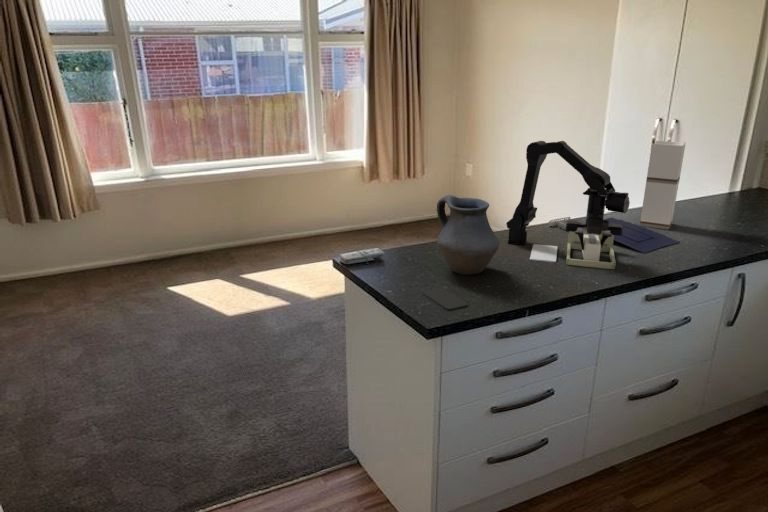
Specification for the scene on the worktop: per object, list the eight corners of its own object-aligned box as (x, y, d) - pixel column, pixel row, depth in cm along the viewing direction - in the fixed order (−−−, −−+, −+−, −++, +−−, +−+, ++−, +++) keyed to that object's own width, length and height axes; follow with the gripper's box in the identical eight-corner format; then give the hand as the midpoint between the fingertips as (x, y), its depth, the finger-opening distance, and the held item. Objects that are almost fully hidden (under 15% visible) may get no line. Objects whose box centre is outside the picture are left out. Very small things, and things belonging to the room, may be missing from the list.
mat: (529, 260, 205) (529, 258, 204) (533, 245, 221) (533, 244, 221) (555, 262, 202) (555, 261, 202) (557, 247, 218) (557, 246, 218)
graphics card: (547, 219, 245) (569, 216, 249) (546, 228, 246) (568, 224, 251) (574, 230, 230) (597, 226, 235) (573, 239, 232) (596, 234, 236)
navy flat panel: (613, 222, 247) (615, 214, 246) (678, 248, 225) (681, 239, 223) (576, 231, 234) (578, 223, 232) (642, 259, 212) (644, 250, 210)
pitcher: (482, 285, 182) (486, 209, 173) (421, 272, 192) (423, 200, 184) (505, 266, 198) (510, 196, 190) (448, 256, 209) (451, 188, 201)
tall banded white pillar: (672, 223, 249) (685, 142, 238) (668, 229, 241) (682, 145, 230) (643, 220, 255) (655, 140, 244) (639, 225, 247) (651, 143, 235)
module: (583, 260, 202) (586, 242, 199) (581, 249, 213) (583, 232, 210) (598, 261, 200) (601, 243, 198) (596, 251, 211) (598, 233, 209)
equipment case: (566, 264, 200) (568, 242, 197) (567, 246, 219) (569, 226, 217) (615, 269, 195) (618, 247, 193) (611, 250, 214) (614, 230, 212)
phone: (441, 287, 179) (469, 304, 166) (441, 290, 179) (469, 306, 167) (420, 291, 176) (448, 309, 163) (420, 294, 176) (447, 312, 163)
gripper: (567, 211, 196) (563, 254, 201) (626, 216, 191) (619, 260, 196) (568, 204, 206) (563, 245, 211) (623, 208, 201) (617, 250, 206)
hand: (590, 250), depth 206 cm, fingers closed on module, 5 cm apart
